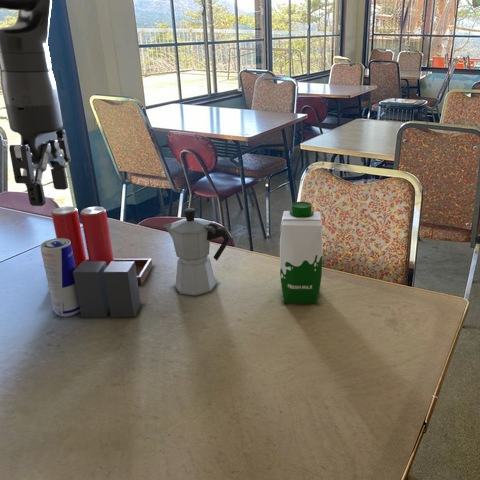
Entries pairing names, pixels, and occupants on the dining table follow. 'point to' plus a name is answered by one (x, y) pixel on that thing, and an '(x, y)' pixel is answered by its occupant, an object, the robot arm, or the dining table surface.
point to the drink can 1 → (70, 230)
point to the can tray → (140, 268)
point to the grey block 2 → (122, 288)
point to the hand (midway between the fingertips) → (50, 196)
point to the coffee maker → (195, 252)
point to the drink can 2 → (97, 234)
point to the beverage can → (61, 275)
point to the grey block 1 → (91, 288)
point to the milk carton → (301, 254)
